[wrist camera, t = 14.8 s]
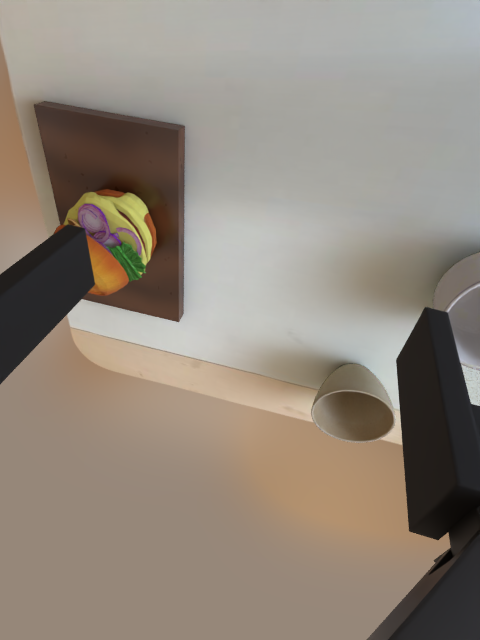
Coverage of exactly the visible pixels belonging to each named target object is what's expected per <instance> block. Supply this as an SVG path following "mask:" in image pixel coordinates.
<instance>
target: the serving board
mask: <svg viewBox="0 0 480 640" xmlns="http://www.w3.org/2000/svg"><path fill="white" fill-rule="evenodd" d="M34 108H35V112H36V117H37V121H38V126H39V130H40V135H41V139H42V144H43V148H44V153H45V157H46V162H47V166H48V171H49V175H50V180H51V184H52V189H53V193H54V198H55V202H56V207H57V211H58V216H59V221H60V225H64V222H65V219H66V217H67V214H68V211H69V210H70V209H71V208H72V207H74V206H75V205H76V203H77V202H78V201H79V200H80V198H81V197H82V196H83V195H84V194H85V193H88V192H96V191H101V190H106V189H108V190H114V191H119V192H123V193H125V194H126V193H132V194H134V195H136V196H137V197H139V198H140V199H141V200H142V201H143V202H144V204H145V205H146V207H147V209H148V212H149V214H150V217H151V219H152V222H153V224H154V227H155V229H156V241H157V243H156V246H155V248H154V251H153V253H152V256H151V258H150V260H149V261H148V263H147V264H146V267H145V272H146V273H142V274H141V276H142V277H141V278H139V280H132V281H131V282H130V281H129V282H128V284H127V285H125V286H124V287H123V288H121V289H119V290H118V291H116V292H114V293H112V294H109V295H106V296H100V295H95V294H91V293H87V294H86V295H85V296H84V297H83V298H82V299H84V300H88V301H92V302H97V303H101V304H105V305H109V306H113V307H118V308H122V309H126V310H130V311H134V312H139V313H143V314H147V315H151V316H155V317H160V318H164V319H168V320H172V321H176V322H179V321H180V319H181V317H182V316H183V298H184V154H185V126H182V125H176V124H170V123H165V122H159V121H153V120H148V119H142V118H137V117H131V116H125V115H120V114H114V113H108V112H103V111H97V110H91V109H86V108H80V107H75V106H69V105H63V104H58V103H52V102H46V101H44V102H41V103H37V104H34Z"/></svg>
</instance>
